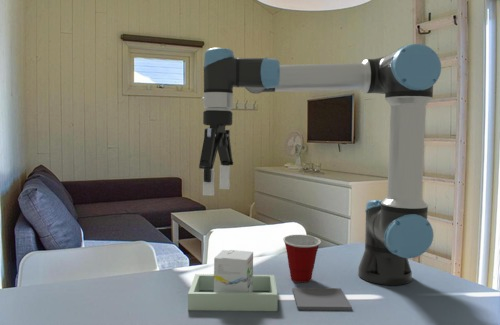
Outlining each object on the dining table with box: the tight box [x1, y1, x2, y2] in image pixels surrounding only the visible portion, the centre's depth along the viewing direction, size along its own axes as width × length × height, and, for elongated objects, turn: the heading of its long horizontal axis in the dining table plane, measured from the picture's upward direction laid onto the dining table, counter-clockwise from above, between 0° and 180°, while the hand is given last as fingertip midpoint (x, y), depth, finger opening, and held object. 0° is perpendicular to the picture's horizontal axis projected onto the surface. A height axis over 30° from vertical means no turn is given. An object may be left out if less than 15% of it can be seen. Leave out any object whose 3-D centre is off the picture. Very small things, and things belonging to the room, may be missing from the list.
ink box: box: [213, 249, 254, 293], centre depth 114 cm, size 8×8×12 cm
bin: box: [187, 273, 279, 312], centre depth 114 cm, size 21×15×4 cm
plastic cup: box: [283, 234, 322, 283], centre depth 130 cm, size 11×11×12 cm
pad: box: [291, 287, 353, 311], centre depth 114 cm, size 13×13×1 cm
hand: (216, 192), depth 117 cm, fingers open, 13 cm apart
